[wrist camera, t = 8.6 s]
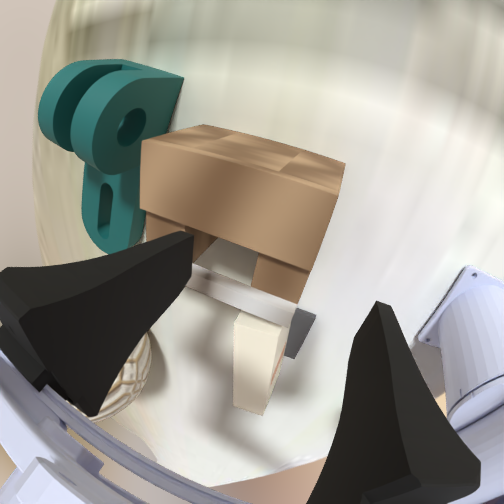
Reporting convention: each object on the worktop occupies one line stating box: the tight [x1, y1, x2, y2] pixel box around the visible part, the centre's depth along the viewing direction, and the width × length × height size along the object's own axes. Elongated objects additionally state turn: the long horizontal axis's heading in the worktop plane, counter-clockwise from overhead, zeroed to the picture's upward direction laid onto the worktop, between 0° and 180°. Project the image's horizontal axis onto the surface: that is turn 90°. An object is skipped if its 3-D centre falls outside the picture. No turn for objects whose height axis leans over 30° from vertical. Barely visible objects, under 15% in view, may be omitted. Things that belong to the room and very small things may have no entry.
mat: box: [284, 308, 316, 359], centre depth 25 cm, size 5×6×1 cm
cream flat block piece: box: [233, 310, 291, 416], centre depth 23 cm, size 3×12×6 cm, turn 175°
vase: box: [66, 332, 152, 428], centre depth 27 cm, size 16×16×20 cm
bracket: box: [38, 59, 184, 254], centre depth 20 cm, size 18×7×8 cm, turn 154°
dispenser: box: [140, 124, 345, 328], centre depth 17 cm, size 10×8×7 cm
